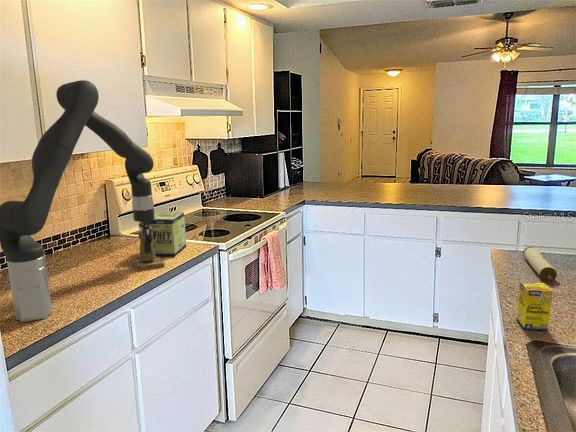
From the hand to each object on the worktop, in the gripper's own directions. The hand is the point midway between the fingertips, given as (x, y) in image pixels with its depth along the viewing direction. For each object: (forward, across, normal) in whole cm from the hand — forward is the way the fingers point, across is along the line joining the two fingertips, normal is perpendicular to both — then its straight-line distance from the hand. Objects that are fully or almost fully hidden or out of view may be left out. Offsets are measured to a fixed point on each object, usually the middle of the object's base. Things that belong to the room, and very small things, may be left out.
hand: (147, 251), depth 172 cm
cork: (+3, 0, 0) cm, 3 cm away
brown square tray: (+6, 0, 0) cm, 6 cm away
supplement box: (+6, +102, +80) cm, 130 cm away
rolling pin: (+6, +74, +122) cm, 142 cm away
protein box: (+6, -15, +11) cm, 20 cm away
